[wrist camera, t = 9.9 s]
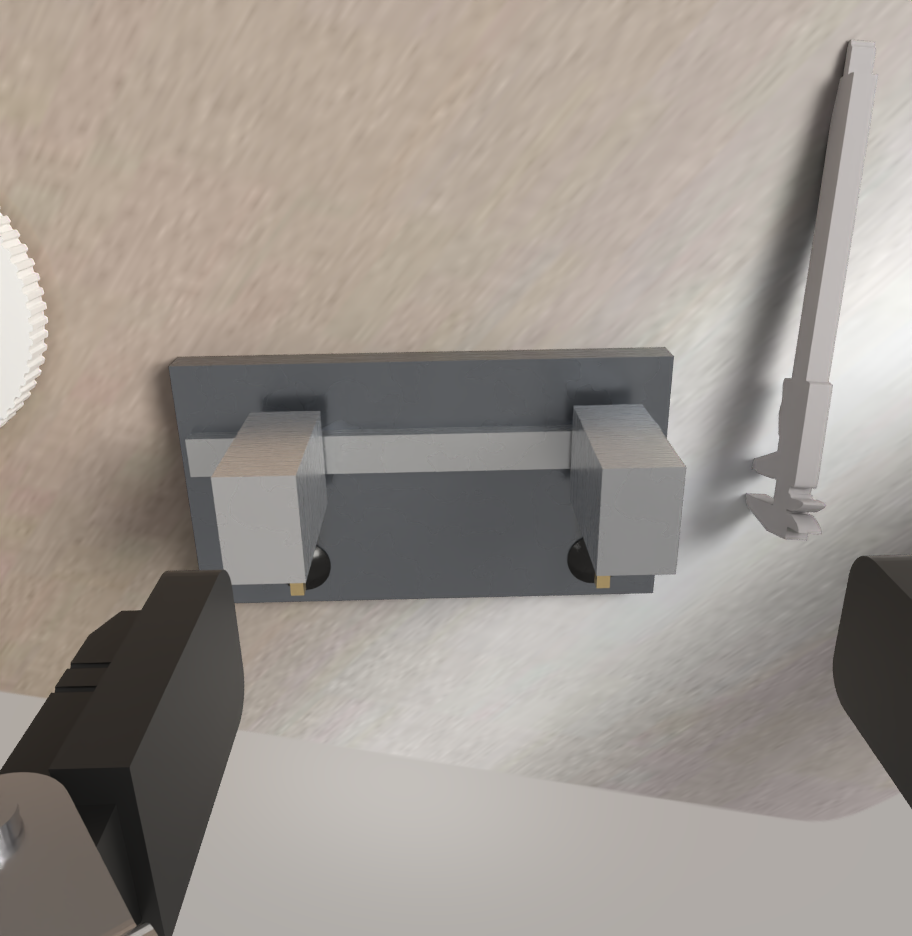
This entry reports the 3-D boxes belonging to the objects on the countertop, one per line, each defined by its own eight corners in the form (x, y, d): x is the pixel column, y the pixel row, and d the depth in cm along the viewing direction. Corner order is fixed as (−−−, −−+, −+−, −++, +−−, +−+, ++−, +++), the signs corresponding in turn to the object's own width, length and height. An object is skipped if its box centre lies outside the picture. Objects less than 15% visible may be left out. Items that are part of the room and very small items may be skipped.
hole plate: (665, 347, 39) (678, 361, 36) (645, 577, 43) (656, 601, 41) (178, 357, 38) (163, 371, 36) (211, 587, 43) (200, 612, 41)
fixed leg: (642, 404, 37) (686, 466, 30) (629, 573, 40) (666, 661, 34) (573, 405, 37) (602, 468, 30) (566, 574, 40) (591, 663, 34)
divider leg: (320, 410, 37) (295, 475, 30) (333, 579, 40) (314, 671, 34) (250, 412, 37) (210, 477, 30) (269, 581, 40) (237, 672, 33)
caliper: (763, 500, 42) (815, 563, 36) (741, 499, 42) (790, 562, 36) (870, 42, 34) (959, 29, 28) (843, 40, 34) (927, 26, 28)
